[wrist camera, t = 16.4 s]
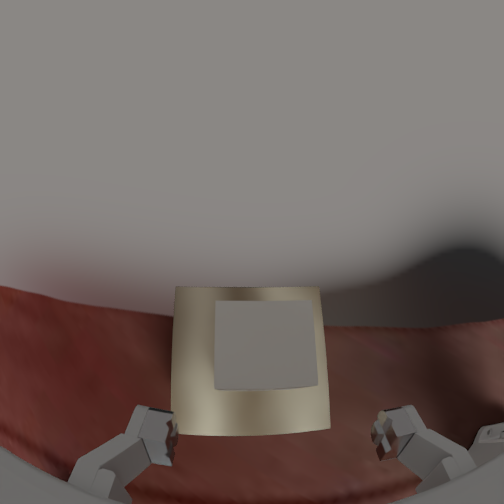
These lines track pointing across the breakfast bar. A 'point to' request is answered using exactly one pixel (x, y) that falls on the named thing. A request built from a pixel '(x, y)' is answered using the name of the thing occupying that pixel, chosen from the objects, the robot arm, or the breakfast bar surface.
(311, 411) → the tower top
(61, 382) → the breakfast bar surface
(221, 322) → the offwhite block
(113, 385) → the breakfast bar surface
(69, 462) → the breakfast bar surface
